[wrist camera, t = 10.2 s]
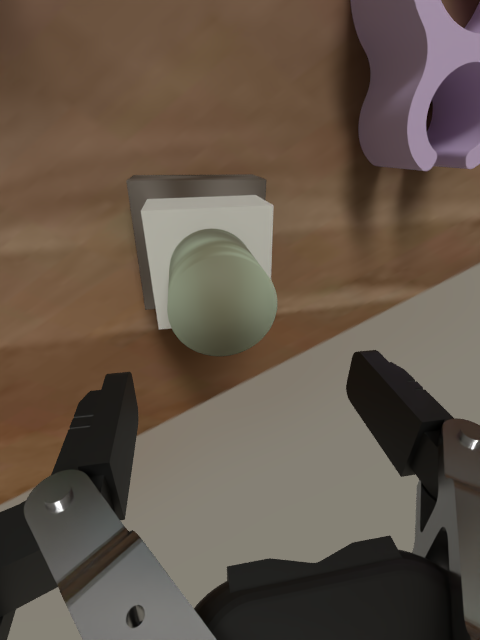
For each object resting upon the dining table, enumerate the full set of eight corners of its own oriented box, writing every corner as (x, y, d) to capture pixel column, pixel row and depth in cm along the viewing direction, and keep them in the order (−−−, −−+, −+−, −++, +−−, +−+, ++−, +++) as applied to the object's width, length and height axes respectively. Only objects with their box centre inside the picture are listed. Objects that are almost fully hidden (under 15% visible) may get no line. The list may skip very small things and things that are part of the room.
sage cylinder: (254, 228, 20) (282, 254, 15) (250, 306, 23) (272, 352, 18) (166, 228, 20) (163, 256, 14) (172, 310, 22) (171, 359, 17)
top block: (255, 195, 24) (273, 205, 20) (254, 292, 28) (269, 318, 24) (147, 198, 23) (140, 210, 19) (161, 300, 27) (158, 329, 23)
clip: (452, 162, 31) (519, 166, 25) (330, 167, 29) (371, 173, 23) (541, -174, 21) (685, -299, 15) (366, -197, 19) (452, -350, 13)
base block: (251, 174, 28) (266, 179, 24) (249, 281, 33) (260, 301, 29) (133, 174, 27) (126, 180, 22) (149, 287, 31) (145, 309, 27)
